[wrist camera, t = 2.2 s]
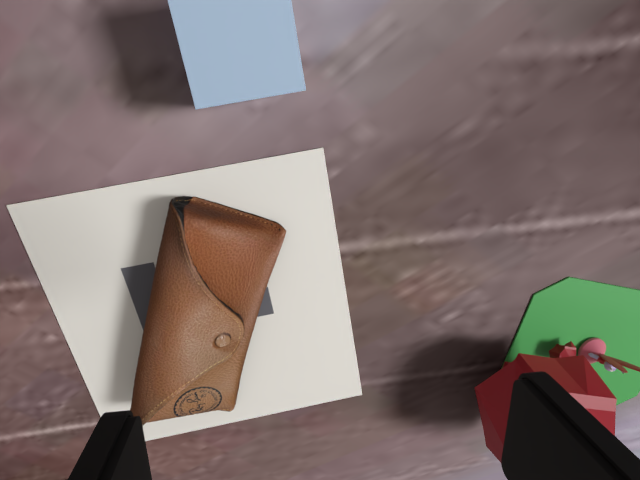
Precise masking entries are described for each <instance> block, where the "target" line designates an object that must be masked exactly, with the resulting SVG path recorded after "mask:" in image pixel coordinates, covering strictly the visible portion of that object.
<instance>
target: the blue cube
mask: <svg viewBox="0 0 640 480" xmlns="http://www.w3.org/2000/svg"><path fill="white" fill-rule="evenodd" d="M168 4H169V8H170V12H171V15H172V19H173V23H174V27H175V31H176V35H177V39H178V43H179V47H180V50H181V54H182V58H183V62H184V66H185V70H186V74H187V78H188V82H189V86H190V89H191V93H192V97H193V101H194V105H195V109H201V108H207V107H213V106H218V105H224V104H230V103H236V102H241V101H247V100H253V99H259V98H264V97H270V96H276V95H282V94H287V93H293V92H299V91H305V90H306V87H305V81H304V75H303V69H302V63H301V57H300V51H299V45H298V39H297V33H296V26H295V20H294V14H293V8H292V2H291V0H168Z"/></svg>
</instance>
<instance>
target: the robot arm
mask: <svg viewBox="0 0 640 480" xmlns="http://www.w3.org/2000/svg"><path fill="white" fill-rule="evenodd" d="M501 464H502V469H503V472H504V474H505V476H506V478H507V479H508V480H640V459H639V458H638V457H637V456H635V455H634V454H633V453H632V452H631V451H630V450H629V449H628V448H627V447H626V446H625V445H624V444H623V443H622V442H621V441H619V440H618V439H617V438H616V437H615V436H614V435H613V434H612V433H611V432H610V431H609V430H608V429H607V428H606V427H605V426H603V425H602V424H601V423H600V422H599V421H598V420H597V419H596V418H595V417H594V416H593V415H592V414H591V413H590V412H589V411H587V410H586V409H585V408H584V407H583V406H582V405H581V404H580V403H579V402H578V401H577V400H576V399H575V398H574V397H573V396H571V395H570V394H569V393H568V392H567V391H566V390H565V389H564V388H563V387H562V386H561V385H560V384H559V383H558V382H557V381H555V380H554V379H553V378H552V377H551V376H550V375H549V374H548V373H546V372H543V371H540V372H529V373H522V374H520V376H519V378H518V379H517V380H515V381H514V383H513V388H512V395H511V401H510V408H509V414H508V420H507V427H506V433H505V439H504V446H503V452H502V458H501ZM67 480H152V477H151V471H150V466H149V460H148V454H147V449H146V443H145V438H144V432H143V426H142V421H141V418H140V416H133V413H132V411H130V410H126V411H116V412H105V413H104V414H103V415H102V416H101V418H100V420H99V421H98V423H97V425H96V427H95V429H94V431H93V433H92V435H91V437H90V439H89V440H88V442H87V444H86V446H85V448H84V450H83V452H82V454H81V456H80V457H79V459H78V461H77V463H76V465H75V467H74V469H73V471H72V473H71V475H70V476H69V478H68V479H67Z"/></svg>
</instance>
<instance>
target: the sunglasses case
mask: <svg viewBox="0 0 640 480" xmlns="http://www.w3.org/2000/svg"><path fill="white" fill-rule="evenodd" d="M285 234H286V230H285V229H284V227H283V226H282V225H281V224H279V223H278V222H275V221H272V220H269V219H267V218H264V217H261V216H258V215H255V214H252V213H248V212H245V211H241V210H238V209H235V208H232V207H228V206H225V205H222V204H219V203H216V202H212V201H209V200H205V199H202V198H198V197H190V196H182V197H174V198H173V199H171V201H170V203H169V209H168V213H167V217H166V222H165V226H164V231H163V235H162V240H161V244H160V248H159V253H158V257H157V263H156V268H155V273H154V278H153V283H152V289H151V294H150V299H149V305H148V310H147V315H146V320H145V326H144V330H143V336H142V341H141V347H140V352H139V357H138V363H137V369H136V374H135V380H134V387H133V394H132V403H131V408H130V411H132V413H133V416H140V418H141V421H142V426H143V425H144V424H146V423H149V422H155V421H160V420H165V419H171V418H176V417H183V416H188V415H194V414H199V413H205V412H210V411H216V410H220V411H227V412H230V411H232V410H233V409H234V407H235V405H236V400H237V394H238V390H239V384H240V379H241V374H242V370H243V365H244V362H245V358H246V354H247V350H248V347H249V344H250V340H251V337H252V333H253V330H254V326H255V323H256V319H257V316H258V313H259V310H260V306H261V303H262V300H263V296H264V293H265V290H266V288H267V284H268V282H269V278H270V276H271V273H272V271H273V268H274V265H275V263H276V260H277V257H278V255H279V252H280V249H281V247H282V244H283V241H284V238H285Z"/></svg>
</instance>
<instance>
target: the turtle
mask: <svg viewBox="0 0 640 480" xmlns="http://www.w3.org/2000/svg"><path fill="white" fill-rule="evenodd" d="M540 371H543V372H546V373H548V374H549V375H550V376H551V377H552V378H553V379H554V380H555V381H557V382H558V383H559V384H560V385H561V386H562V387H563V388H564V389H565V390H566V391H567V392H568V393H569V394H570V395H571V396H573V397H574V398H575V399H576V400H577V401H578V402H579V403H580V404H581V405H582V406H583V407H584V408H585V409H586V410H587V411H589V412H590V413H591V414H592V415H593V416H594V417H595V418H596V419H597V420H598V421H599V422H600V423H601V424H602V425H603V426H605V427H606V428H607V429H608V430H609V431H610V432H611V433H612V434H613V435H614V436H615V411H616V405H618V404H620V403H622V402H624V401H626V400H628V399H631V398H633V397H635V396H637V394H638V393H639V391H640V290H637V289H632V288H626V287H621V286H616V285H610V284H605V283H599V282H594V281H589V280H583V279H578V278H573V277H567V278H564V279H562V280H560V281H558V282H556V283H554V284H552V285H550V286H548V287H546V288H544V289H542V290H540V291H538V292H536V293H534V294H533V296H532V298H531V300H530V303H529V305H528V307H527V310H526V312H525V314H524V317H523V319H522V321H521V324H520V326H519V328H518V331H517V333H516V335H515V338H514V340H513V342H512V345H511V347H510V349H509V352H508V354H507V356H506V359H505V361H504V363H503V366H502V368H501V370H499V371H498V372H496V373H495V374H493V375H492V376H491V377H489V378H488V379H486V380H485V381H483V382H482V383H480V384H479V385H478V386H476V387H475V392H476V397H477V401H478V406H479V411H480V415H481V420H482V424H483V429H484V435H485V441H486V446H487V447H488V448H489V450H490V451H491V452H492V453H493V454H494V455H495V456H496V457H497V459H498V460H499V461H500V462H501V458H502V452H503V446H504V439H505V433H506V427H507V420H508V414H509V408H510V401H511V395H512V388H513V383H514V381H515V380H517V379H518V378H519V376H520V374H522V373H529V372H540Z"/></svg>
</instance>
